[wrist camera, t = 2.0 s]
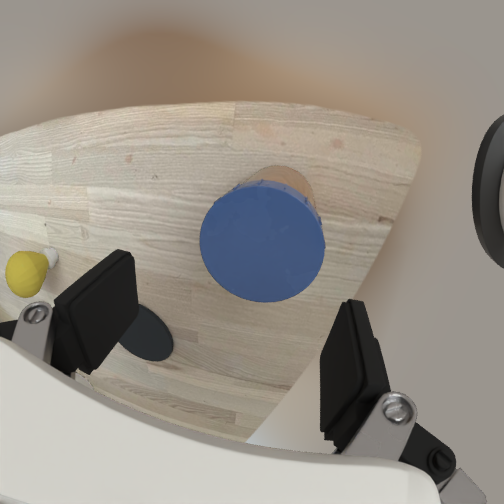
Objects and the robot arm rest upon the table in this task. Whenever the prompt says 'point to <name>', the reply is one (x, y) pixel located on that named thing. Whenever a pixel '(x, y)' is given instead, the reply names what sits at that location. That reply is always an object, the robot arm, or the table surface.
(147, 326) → the coaster
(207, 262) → the lid
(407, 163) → the table surface
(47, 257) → the light bulb
